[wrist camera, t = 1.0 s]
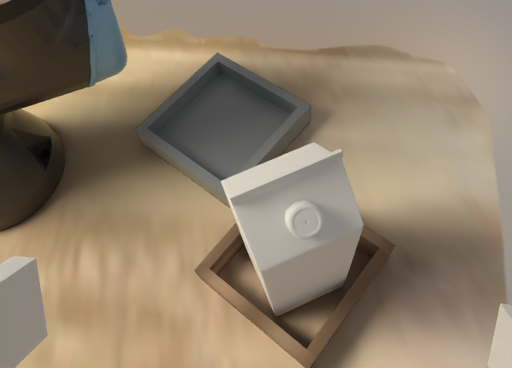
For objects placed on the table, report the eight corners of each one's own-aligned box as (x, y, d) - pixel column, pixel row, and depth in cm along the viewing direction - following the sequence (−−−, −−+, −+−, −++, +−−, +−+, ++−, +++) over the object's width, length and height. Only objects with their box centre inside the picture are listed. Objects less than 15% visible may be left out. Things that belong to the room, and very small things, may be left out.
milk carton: (246, 250, 42) (208, 149, 25) (310, 222, 43) (314, 105, 26) (275, 317, 39) (253, 252, 22) (344, 286, 39) (374, 199, 23)
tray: (143, 144, 49) (134, 129, 47) (221, 69, 54) (217, 52, 51) (231, 209, 44) (227, 197, 42) (310, 121, 48) (310, 105, 46)
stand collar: (201, 279, 41) (194, 270, 38) (282, 184, 45) (281, 171, 42) (308, 370, 36) (309, 367, 34) (389, 256, 40) (395, 245, 38)
